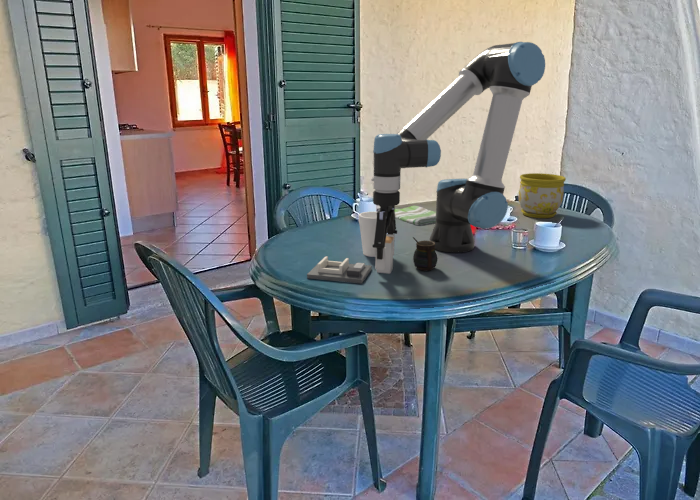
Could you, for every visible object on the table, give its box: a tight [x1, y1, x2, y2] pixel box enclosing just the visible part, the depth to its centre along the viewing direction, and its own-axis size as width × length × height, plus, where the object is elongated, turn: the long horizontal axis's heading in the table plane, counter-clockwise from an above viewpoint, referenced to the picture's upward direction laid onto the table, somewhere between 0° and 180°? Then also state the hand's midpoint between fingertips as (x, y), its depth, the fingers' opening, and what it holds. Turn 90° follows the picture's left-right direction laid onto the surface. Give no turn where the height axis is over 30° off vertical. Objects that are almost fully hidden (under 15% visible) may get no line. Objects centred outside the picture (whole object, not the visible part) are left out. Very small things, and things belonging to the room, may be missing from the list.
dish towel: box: [395, 205, 436, 226], centre depth 214 cm, size 17×23×4 cm
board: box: [306, 256, 373, 284], centre depth 147 cm, size 16×12×4 cm
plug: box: [376, 236, 395, 275], centre depth 149 cm, size 4×4×10 cm
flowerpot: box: [517, 172, 567, 219], centre depth 215 cm, size 18×18×16 cm
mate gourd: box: [412, 236, 439, 272], centre depth 151 cm, size 7×8×10 cm
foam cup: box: [358, 211, 378, 258], centre depth 164 cm, size 10×9×13 cm
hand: (385, 261), depth 150 cm, fingers open, 13 cm apart
